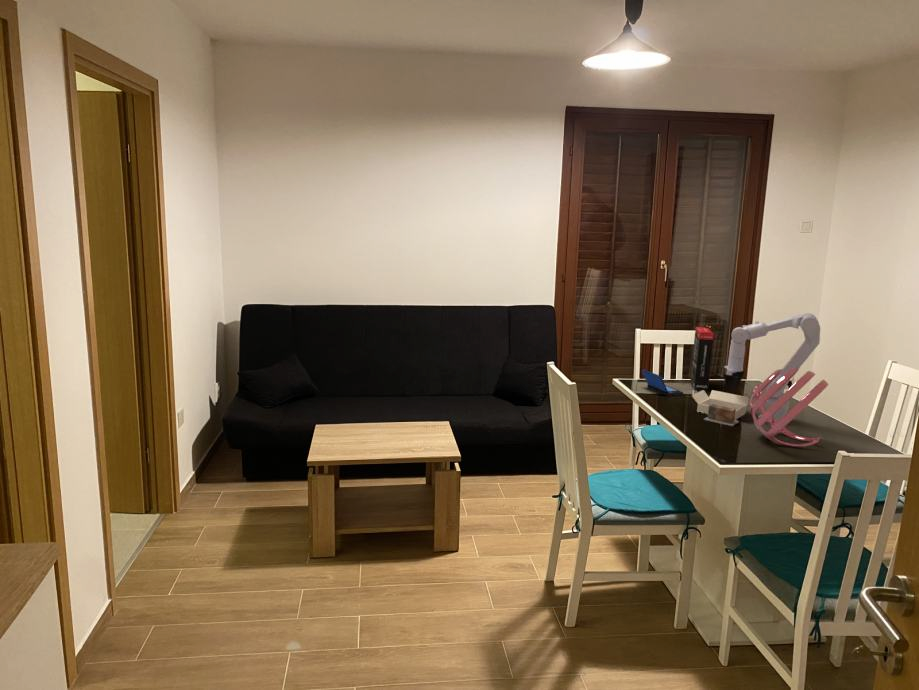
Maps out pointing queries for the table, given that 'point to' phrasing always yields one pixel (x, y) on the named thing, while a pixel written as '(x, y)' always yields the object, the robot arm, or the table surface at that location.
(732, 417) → the capped block
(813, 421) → the table surface
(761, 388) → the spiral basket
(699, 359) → the graphics card box
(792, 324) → the robot arm
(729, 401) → the carton
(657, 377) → the handheld game console
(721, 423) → the grey mat
